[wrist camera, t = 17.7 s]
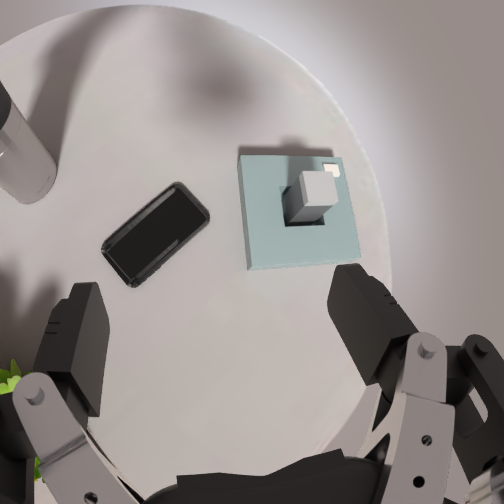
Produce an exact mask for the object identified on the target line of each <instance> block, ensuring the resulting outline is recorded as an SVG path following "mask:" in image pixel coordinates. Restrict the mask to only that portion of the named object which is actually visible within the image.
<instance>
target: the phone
mask: <svg viewBox="0 0 504 504" xmlns="http://www.w3.org/2000/svg"><path fill="white" fill-rule="evenodd" d="M209 221H210V217H209V214H208V213H207V212H206V211H205V210H204V209H203V208H202V206H201V205H200V204H199V203H198V202H197V201H196V200H195V199H194V198H193V197H192V196H191V195H190V194H189V193H188V191H187V190H186V189H185V188H184V187H183V186H182V185H179V184H175V185H173V186H171V187H170V188H169V189H167V190H166V191H165V192H164V193H162V194H161V195H160V196H159V197H157V198H156V199H155V200H154V201H152V202H151V203H150V204H149V205H148V206H146V207H145V208H144V209H143V210H142V211H140V212H139V213H138V214H137V215H136V216H134V217H133V218H132V219H131V220H130V221H129V222H127V223H126V224H125V225H124V226H123V227H122V228H121V229H119V230H118V231H117V232H116V233H115V234H114V235H113V236H111V237H110V238H109V239H108V240H107V241H106V242H105V243H104V244H103V245H102V247H101V252H102V254H103V256H104V257H105V258H106V260H107V261H108V262H109V263H110V265H111V266H112V267H113V268H114V270H115V271H116V272H117V273H118V275H119V276H120V277H121V278H122V280H123V281H124V282H125V283H126V285H128V286H129V287H131V288H136V287H138V286H139V285H140V284H141V283H143V282H144V281H145V280H146V279H147V278H148V277H149V276H151V275H152V274H153V273H154V272H155V271H157V270H158V269H159V268H160V267H161V265H163V264H164V263H165V262H166V261H167V260H168V259H169V258H170V257H172V256H173V255H174V254H175V253H176V252H177V251H178V250H180V249H181V248H182V247H183V246H184V245H185V244H186V243H188V242H189V241H190V240H191V239H192V238H193V237H194V236H196V235H197V234H198V233H199V232H200V231H201V230H203V229H204V228H205V227H206V226H207V225H208V224H209Z"/></svg>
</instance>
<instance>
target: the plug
mask: <svg viewBox="0 0 504 504" xmlns="http://www.w3.org/2000/svg"><path fill="white" fill-rule="evenodd" d="M281 201H282V208H283V215H284V222H285V226H302V225H311V224H312V223H314V222H315V221H316V220H317V219H318V218H320V217H321V216H322V215H323V214H324V213H325V212H327V211H328V210H329V209H330V208H331V207H332V206H334V205H335V204H336V203H337V202H338V196H337V191H336V186H335V182H334V177H333V172H332V171H302V173H301V174H300V175H299V177H298V178H297V180H296V181H295V182H294V184H293V185H292V187H291V188H290V189H289V191H288V192H287V194H286V195H285V196H284V198H283V199H282V200H281Z"/></svg>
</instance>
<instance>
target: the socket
mask: <svg viewBox="0 0 504 504" xmlns="http://www.w3.org/2000/svg"><path fill="white" fill-rule="evenodd" d="M237 169H238V179H239V189H240V199H241V209H242V219H243V229H244V239H245V249H246V259H247V269H248V271H249V270H262V269H275V268H287V267H299V266H311V265H323V264H334V263H346V262H352V261H354V260H357V259H359V258H361V253H360V247H359V241H358V235H357V229H356V224H355V219H354V213H353V208H352V203H351V198H350V194H349V189H348V184H347V180H346V175H345V171H344V166H343V162H342V158H338V157H318V156H285V155H240V159H239V162H238V166H237ZM302 171H332V172H333V177H334V182H335V186H336V191H337V196H338V202H337V203H336V204H335V205H334V206H332V207H331V208H330V209H329V210H328V211H327V212H325V213H324V214H323V215H322V216H321V217H320V218H318V219H317V220H316V221H315V222H314V223H312V224H311V225H302V226H285V222H284V215H283V208H282V201H281V200H282V199H283V198H284V196H285V195H286V194H287V192H288V191H289V189H290V188H291V187H292V185H293V184H294V182H295V181H296V180H297V178H298V177H299V175H300V174H301V173H302Z"/></svg>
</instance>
